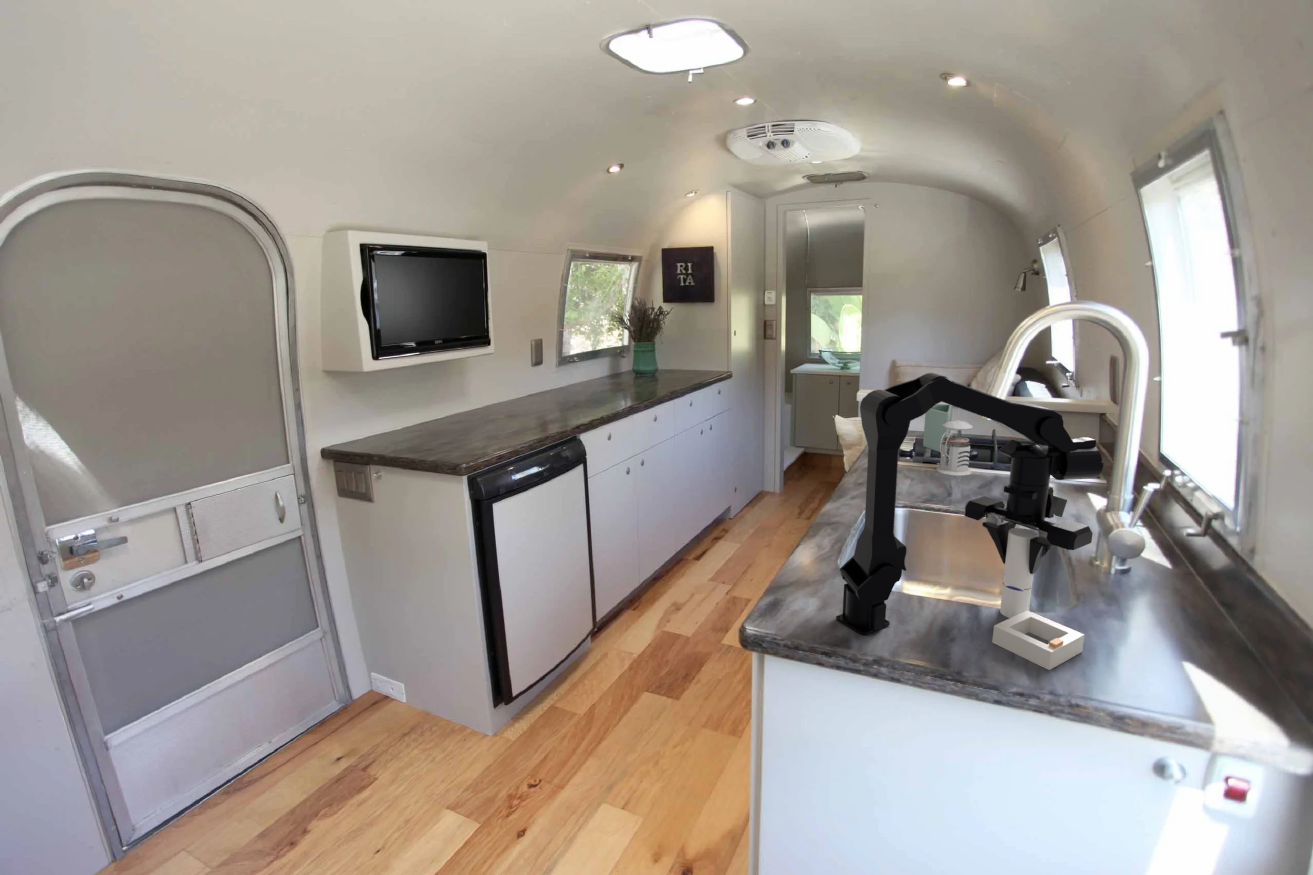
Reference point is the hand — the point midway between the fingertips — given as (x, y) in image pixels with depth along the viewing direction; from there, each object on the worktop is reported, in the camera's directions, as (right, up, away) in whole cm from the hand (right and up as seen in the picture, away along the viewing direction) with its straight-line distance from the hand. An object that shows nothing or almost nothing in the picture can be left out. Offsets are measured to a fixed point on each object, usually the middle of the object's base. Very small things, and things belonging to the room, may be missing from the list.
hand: (1019, 568), depth 111 cm
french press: (+26, +12, +83) cm, 88 cm away
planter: (+33, +19, +111) cm, 117 cm away
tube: (0, -8, +2) cm, 9 cm away
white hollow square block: (-2, -11, -8) cm, 14 cm away
